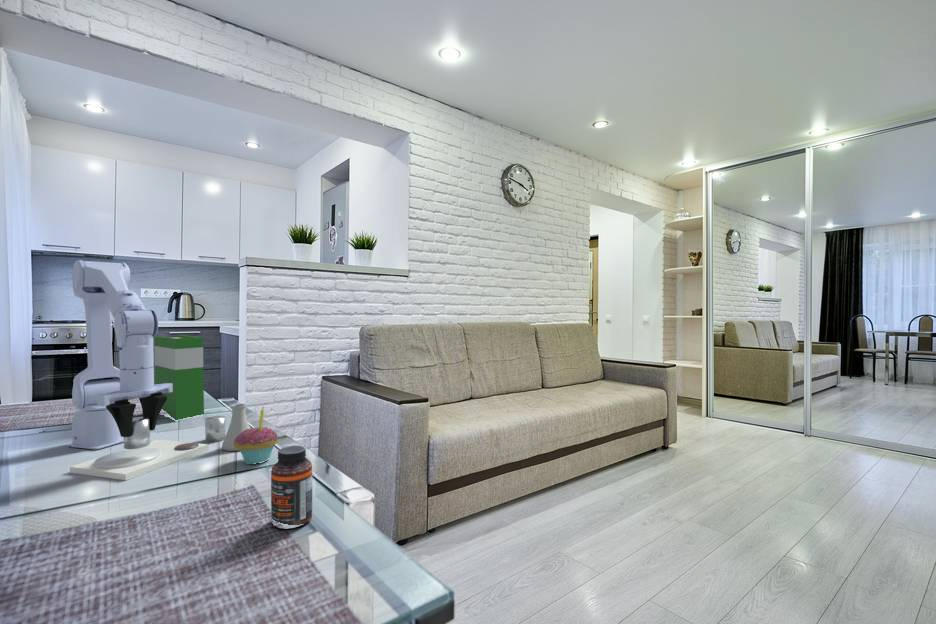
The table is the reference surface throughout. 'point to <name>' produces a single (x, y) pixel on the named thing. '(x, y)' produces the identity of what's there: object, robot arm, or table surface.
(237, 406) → the flask
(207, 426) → the cylinder
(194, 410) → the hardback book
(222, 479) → the table surface
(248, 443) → the cupcake
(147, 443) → the cylinder
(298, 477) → the supplement bottle
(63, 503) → the table surface
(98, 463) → the scale
